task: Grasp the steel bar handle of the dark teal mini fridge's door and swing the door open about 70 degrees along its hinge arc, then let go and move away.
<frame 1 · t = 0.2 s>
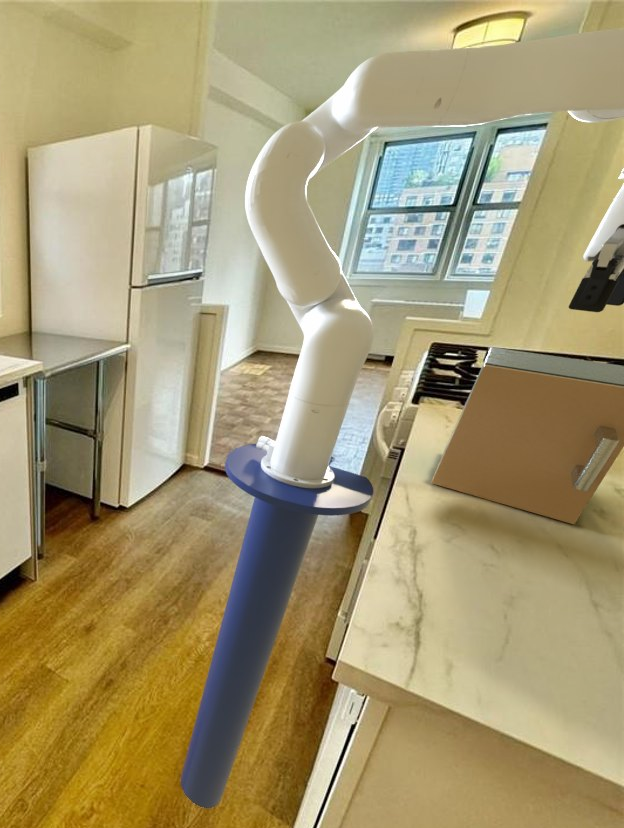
hand: (595, 307, 67), 32 cm above the worktop, tool pointing down, fingers open, 9 cm apart
fridge door: (528, 449, 74), point 11 cm above the worktop, hinge at 0.0°
mini fridge: (499, 485, 86), on the worktop
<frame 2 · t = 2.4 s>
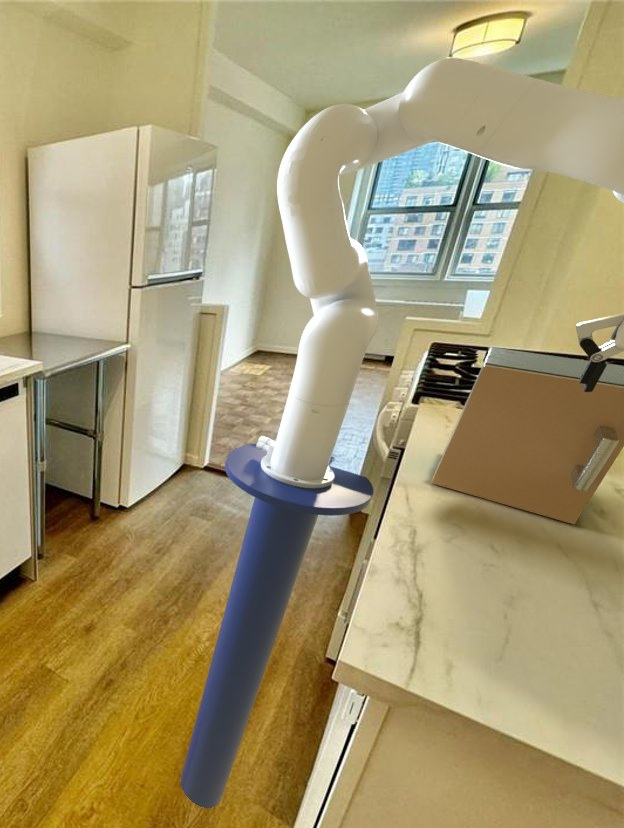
nothing on the worktop moved.
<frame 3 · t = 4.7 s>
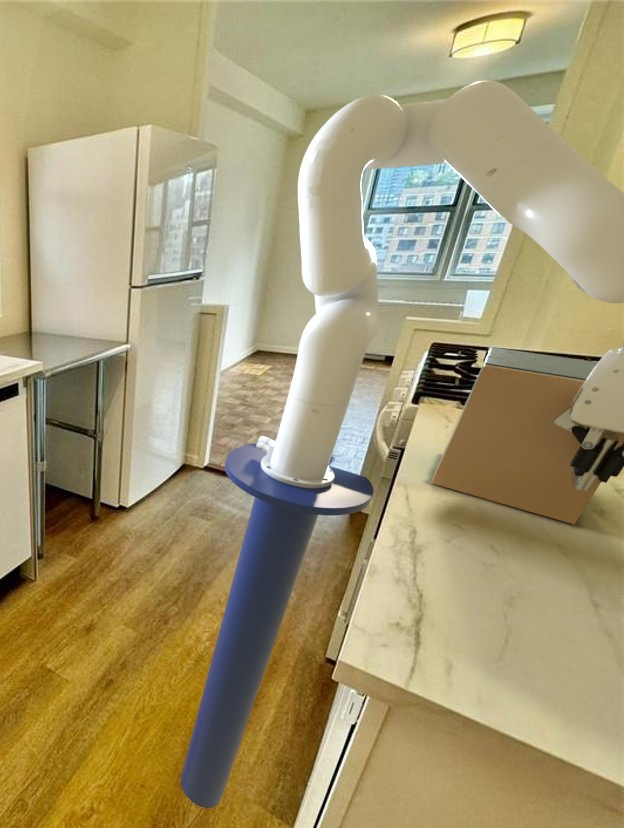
hand: (589, 474, 68), 11 cm above the worktop, tool pointing down, fingers closed on fridge door
fridge door: (528, 449, 74), point 11 cm above the worktop, hinge at 0.0°, touching gripper
everything else where it was.
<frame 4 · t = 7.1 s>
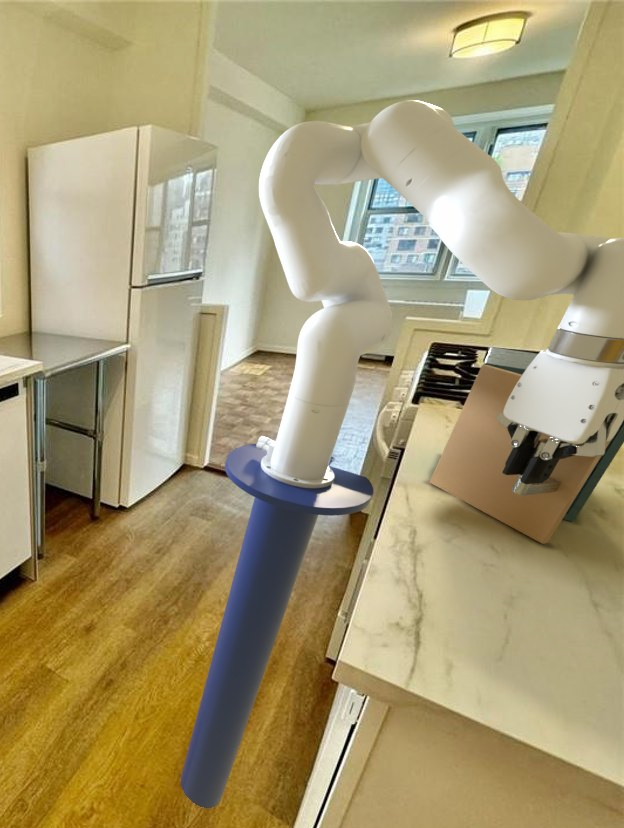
hand: (522, 477, 67), 11 cm above the worktop, tool pointing down, fingers closed on fridge door
fridge door: (496, 452, 73), point 11 cm above the worktop, hinge at 35.4°, touching gripper
everything else where it was.
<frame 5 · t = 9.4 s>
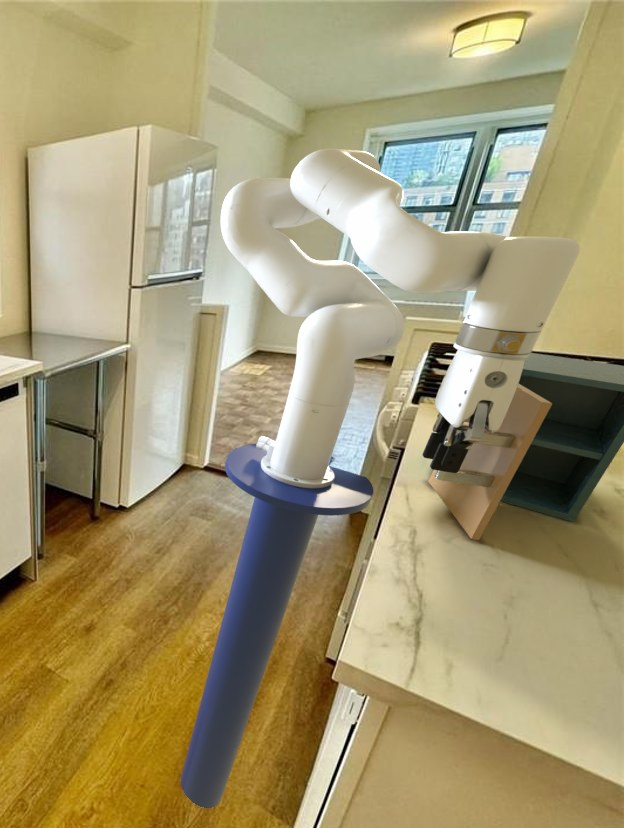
hand: (439, 463, 71), 11 cm above the worktop, tool pointing down, fingers open, 3 cm apart
fridge door: (455, 445, 75), point 11 cm above the worktop, hinge at 66.6°
everything else where it was.
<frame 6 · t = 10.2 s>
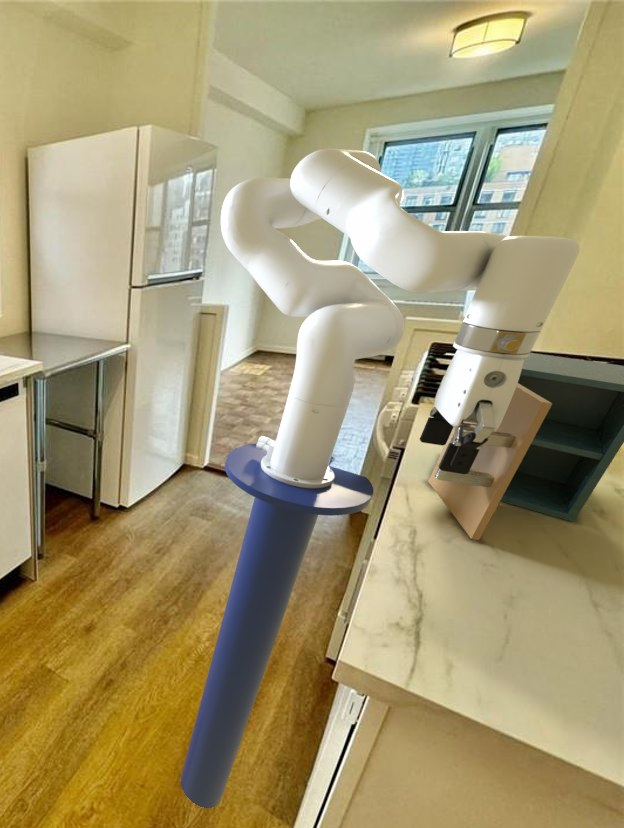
hand: (441, 456, 70), 12 cm above the worktop, tool pointing down, fingers open, 9 cm apart
nothing on the worktop moved.
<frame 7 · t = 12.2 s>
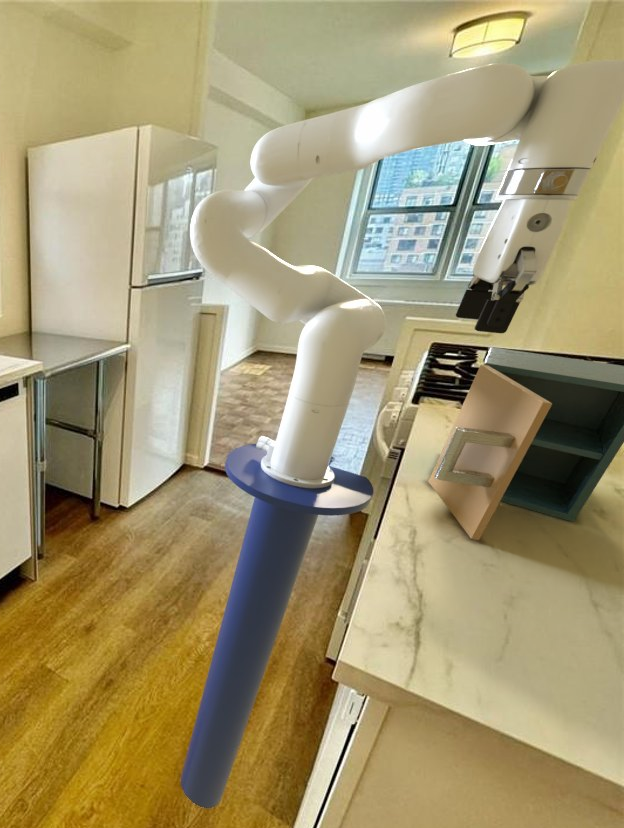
hand: (478, 324, 68), 29 cm above the worktop, tool pointing down, fingers open, 9 cm apart
nothing on the worktop moved.
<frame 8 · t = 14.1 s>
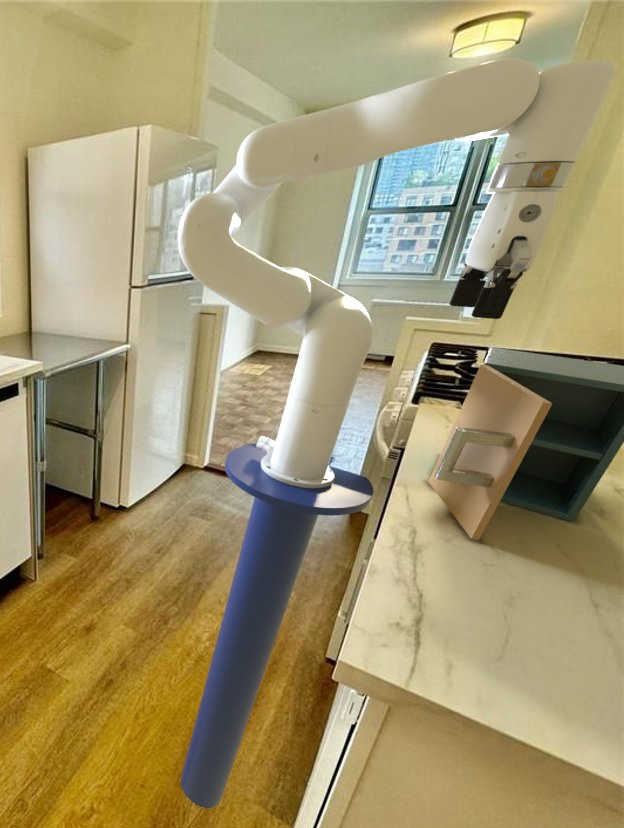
hand: (472, 311, 72), 30 cm above the worktop, tool pointing down, fingers open, 9 cm apart
nothing on the worktop moved.
at the end: fridge door at +67° (first picture: +0°) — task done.
